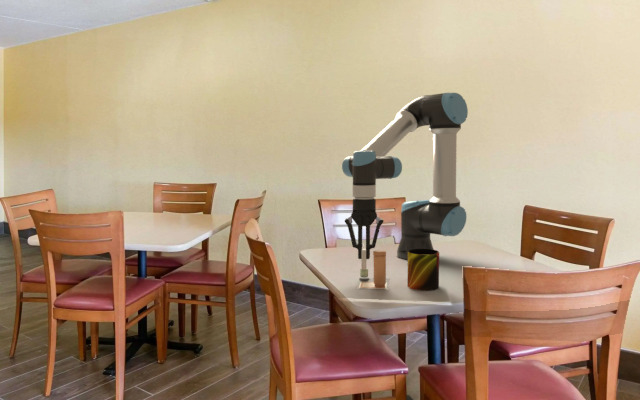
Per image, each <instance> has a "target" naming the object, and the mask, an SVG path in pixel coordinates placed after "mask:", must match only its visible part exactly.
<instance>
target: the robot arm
mask: <svg viewBox="0 0 640 400" xmlns="http://www.w3.org/2000/svg"><path fill="white" fill-rule="evenodd" d="M467 105H468V104H467V102H466V100H465V99H464V96H462V95H461V94H460V93H458V92H443V93H435V94H427V95H422V96H419V97H418V98H415V99H413V100H412V101H411V102H408V103H407V104H406V105H404V106H403V107H402V108H401V109H400V110H399V111H398V112H397V113H396V115H395V118H394V120H392V121H391V122H390V123H388V125H386V127H385V128H383V129H382V130H381V131H380V132H379V133H378V134H377V135H376V136H375V137H373V139H371V141H370V142H369V143H368V144H366V145H365V146H364V147H363V148H362V149H361V150H355V151H354V152H353V153H352V155H350V156H347V157H345V158H344V159H343V161H342V163H341V169H342V172H343V174H344V175H345V176H347V177H349V178H352V197H353V199H352V212H351V214H350V216H349V217H347V218H345V220H344V223H345V224H346V226H347V228H348V229H347V230H348V233H349V236H350V240H351V244H352V246H351V247H353V249H354V248H355V249H357V259H359V260H360V261H361V266H360V267H361V268H360V269H361V270H366V269H367V261H368V260H370V258H371V249H375V248H376V243H377V240H378V237H379V233H380V229H381V226H382V224H383V223H384V219H383V218H381V217H379V216H378V213H377V211H376V208H377V207H376V205H377V204H376V203H377V200H376V195H377V194H376V191H377V189H376V188H377V183H376V182H377V180H384V179H390V180H391V179H396V178H398V177H400V175H401V174H402V171H403V164H402V161H401V160H400V158H398V157H397V156H391V155H389V156H387V155H388V153H389V152H390V151H392V150H393V149H394V147H396V145H398V144H399V142H401V141H402V140H403V139H404V138H405V137H406V136H407V135H408V134H409V133H414V132H415V131H417V129H418V128H420V127H424V126H429V128H428V130H429V131H430V132H431V133H432V136H433V137H432V141H433V142H432V143H433V144H432V146H433V147H432V149H433V150H432V153H433V155H432V156H433V157H432V158H433V159H432V161H433V162H432V164H433V165H432V197H431V198H430V199H423V200H421V199H420V200H413V201H412V200H411V201H404V202H403V203H402V204H401V212H400V214H401V215H400V224H401V225H400V227H401V229H400V231H401V235H400V236H401V237H400V241H399V243H398V247H397V250H396V256H397V258H400V259H404V260H408V250H411V249H433V250H435V249H434V246H433V242H432V240H431V234H433V235H438V236H443V237H456V236H458V235H460V234H461V232H463V230H464V228H465V226H466V222H467V211H466V209H465V208H464V207H462V206H461V201H460V199H459V198H458V197H457V134H458V133H459V131H460V130H461V129H462V124H464V123H465V122H466V120H467V118H468V114H469V113H468V112H469V111H468V109H469V108H468V106H467ZM353 222H354V223H355V224H356V225H357V239H356V236H355V231H354V228H353V224H352V223H353ZM374 222H375V224H376V226H375V230H374V233H373V238H372V242H371V226H372V224H373V223H374ZM363 227H365V248H363Z"/></svg>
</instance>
